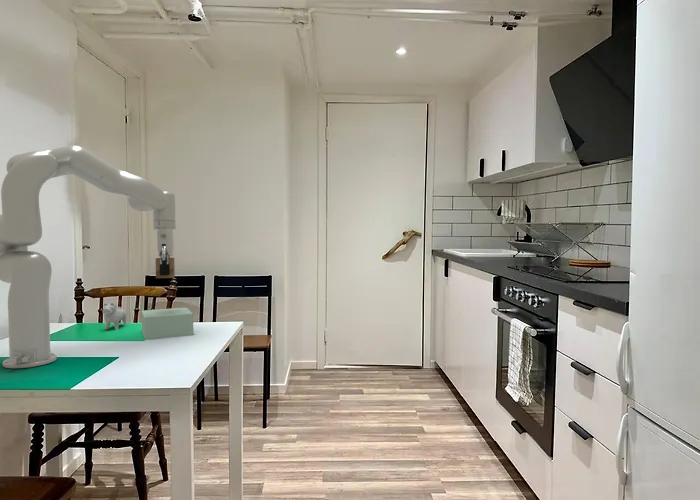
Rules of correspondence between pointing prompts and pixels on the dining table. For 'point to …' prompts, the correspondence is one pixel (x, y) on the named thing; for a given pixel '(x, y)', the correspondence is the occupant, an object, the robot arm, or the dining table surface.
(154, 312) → the sage box
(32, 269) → the robot arm
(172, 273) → the walnut block
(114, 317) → the white dog figurine
